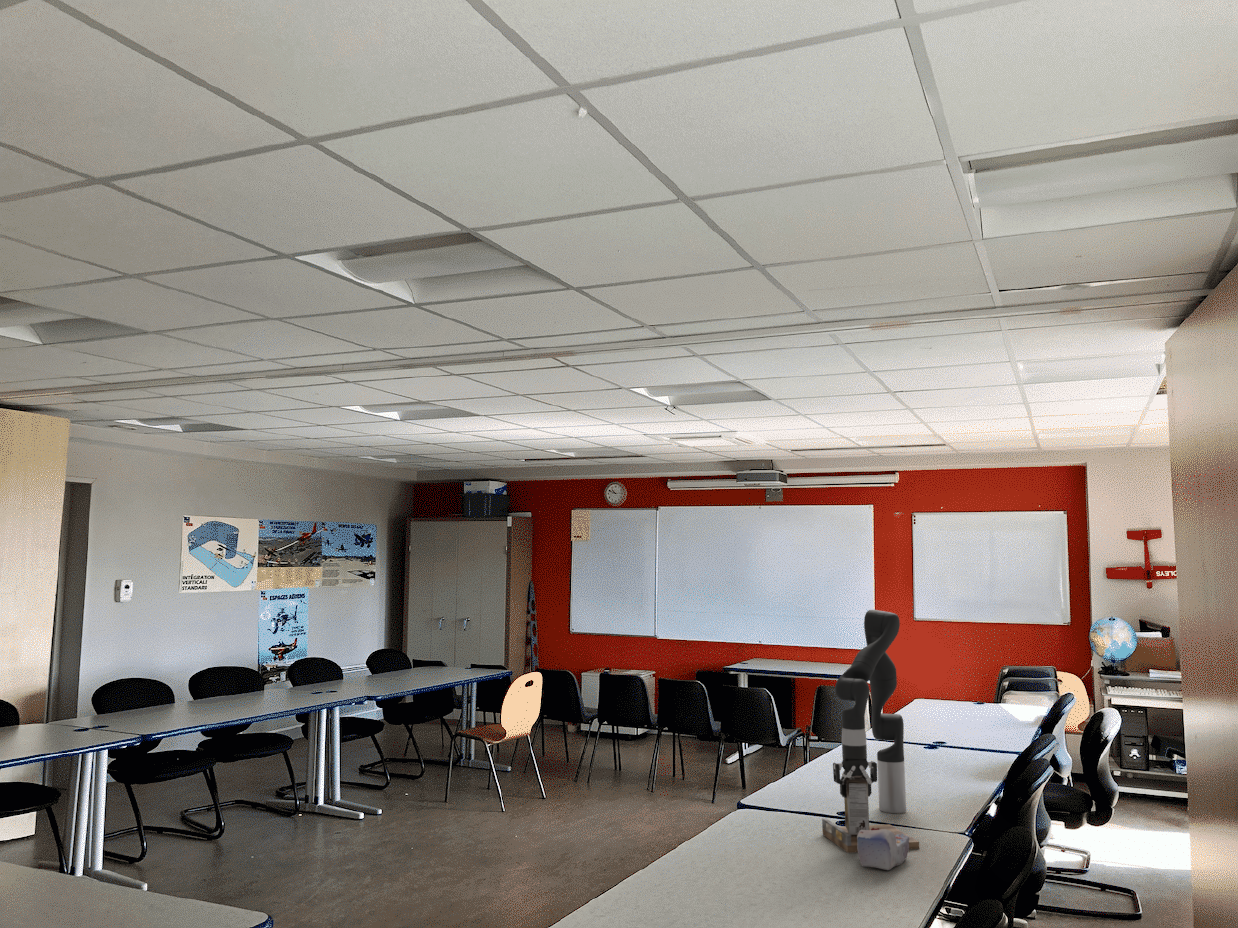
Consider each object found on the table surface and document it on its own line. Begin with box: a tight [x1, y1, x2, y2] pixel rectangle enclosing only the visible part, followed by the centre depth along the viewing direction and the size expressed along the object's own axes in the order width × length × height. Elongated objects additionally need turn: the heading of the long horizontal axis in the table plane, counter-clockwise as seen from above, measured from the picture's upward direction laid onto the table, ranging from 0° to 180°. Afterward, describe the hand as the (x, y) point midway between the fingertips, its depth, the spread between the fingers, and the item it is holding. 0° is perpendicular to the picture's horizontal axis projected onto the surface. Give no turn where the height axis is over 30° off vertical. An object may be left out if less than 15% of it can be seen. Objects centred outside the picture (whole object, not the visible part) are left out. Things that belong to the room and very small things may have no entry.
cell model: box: [857, 828, 910, 871], centre depth 270 cm, size 13×11×20 cm
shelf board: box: [821, 817, 920, 854], centre depth 291 cm, size 20×23×5 cm
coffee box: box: [843, 776, 870, 835], centre depth 292 cm, size 9×6×16 cm
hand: (856, 796), depth 292 cm, fingers closed on coffee box, 7 cm apart
